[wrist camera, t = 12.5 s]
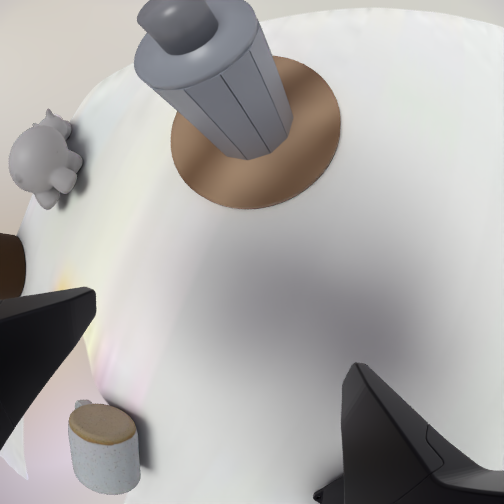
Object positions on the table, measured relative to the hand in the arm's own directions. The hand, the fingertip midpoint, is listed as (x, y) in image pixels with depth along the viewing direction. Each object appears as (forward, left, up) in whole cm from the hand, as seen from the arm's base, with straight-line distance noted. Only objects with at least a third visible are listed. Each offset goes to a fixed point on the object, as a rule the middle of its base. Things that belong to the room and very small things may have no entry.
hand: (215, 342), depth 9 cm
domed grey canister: (+11, -9, -11) cm, 18 cm away
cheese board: (+11, -9, -14) cm, 19 cm away
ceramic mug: (+2, +24, -13) cm, 27 cm away
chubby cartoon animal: (+28, +5, -12) cm, 31 cm away
